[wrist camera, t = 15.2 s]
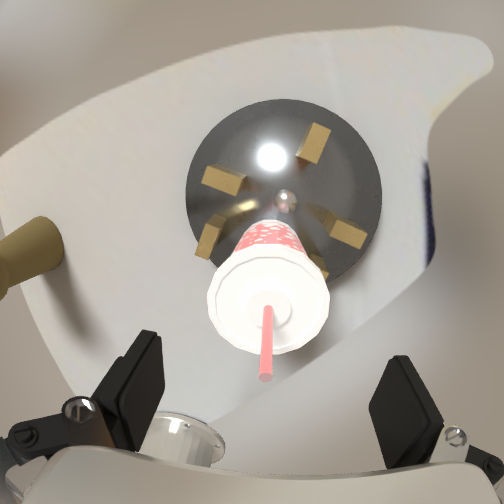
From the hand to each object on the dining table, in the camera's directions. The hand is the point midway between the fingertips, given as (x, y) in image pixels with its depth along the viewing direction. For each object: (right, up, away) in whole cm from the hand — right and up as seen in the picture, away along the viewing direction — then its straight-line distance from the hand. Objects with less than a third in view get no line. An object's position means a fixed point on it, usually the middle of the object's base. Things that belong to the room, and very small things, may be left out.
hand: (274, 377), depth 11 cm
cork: (-23, +6, +16) cm, 29 cm away
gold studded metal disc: (+2, +9, +12) cm, 15 cm away
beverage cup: (+1, +5, +12) cm, 13 cm away
